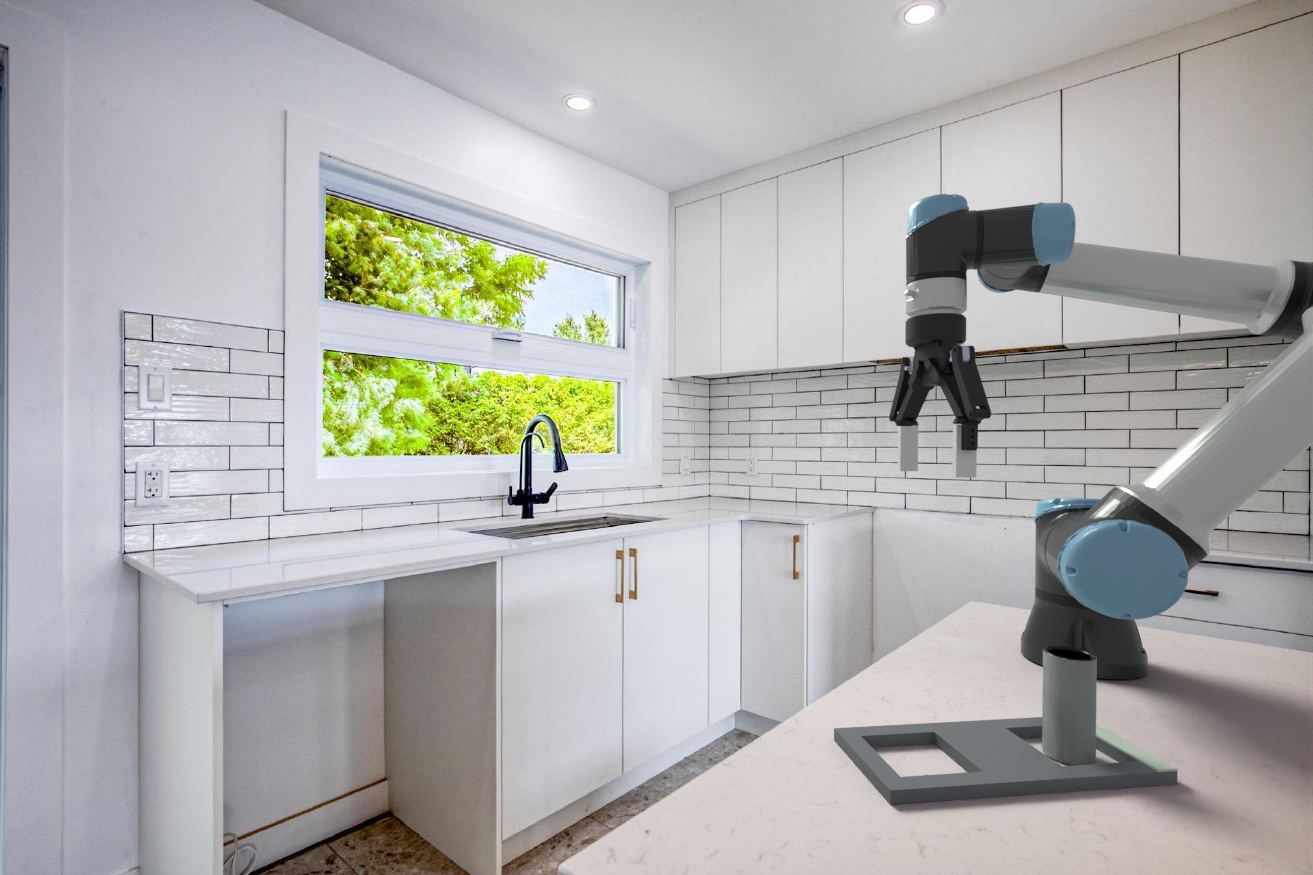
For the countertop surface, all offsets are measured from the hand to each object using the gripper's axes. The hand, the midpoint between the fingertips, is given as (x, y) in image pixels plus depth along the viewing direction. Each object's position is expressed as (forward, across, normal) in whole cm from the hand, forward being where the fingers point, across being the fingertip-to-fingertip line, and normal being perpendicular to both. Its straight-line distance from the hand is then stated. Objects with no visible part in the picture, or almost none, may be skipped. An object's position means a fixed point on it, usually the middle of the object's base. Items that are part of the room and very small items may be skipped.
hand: (933, 474), depth 88 cm
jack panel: (+27, +23, -7) cm, 36 cm away
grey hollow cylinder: (+27, +23, +1) cm, 35 cm away
